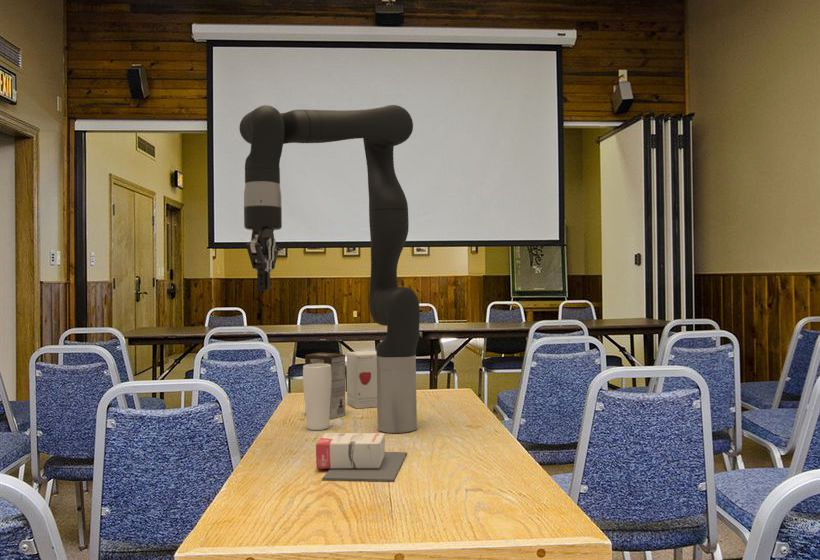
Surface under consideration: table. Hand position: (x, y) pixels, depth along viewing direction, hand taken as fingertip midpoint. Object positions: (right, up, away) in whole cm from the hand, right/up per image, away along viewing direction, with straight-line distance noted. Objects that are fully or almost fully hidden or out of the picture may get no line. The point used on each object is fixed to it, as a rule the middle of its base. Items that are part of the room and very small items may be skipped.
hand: (263, 290), depth 131 cm
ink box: (+13, -30, -11) cm, 34 cm away
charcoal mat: (+22, -33, -12) cm, 41 cm away
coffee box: (+8, -34, +36) cm, 50 cm away
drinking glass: (+8, -33, +21) cm, 40 cm away
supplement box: (+18, -34, +50) cm, 63 cm away
